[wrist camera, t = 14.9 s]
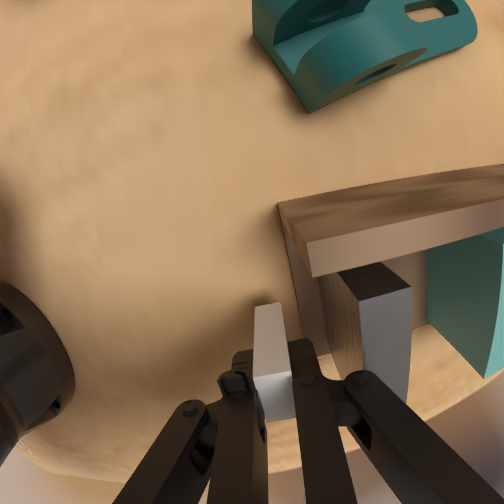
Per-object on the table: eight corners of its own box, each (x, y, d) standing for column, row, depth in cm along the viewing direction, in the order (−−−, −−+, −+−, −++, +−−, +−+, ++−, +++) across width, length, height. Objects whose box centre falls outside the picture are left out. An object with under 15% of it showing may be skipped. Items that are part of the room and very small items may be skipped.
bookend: (327, 344, 20) (363, 441, 11) (311, 240, 18) (358, 301, 9) (354, 337, 20) (402, 428, 11) (342, 233, 18) (411, 286, 9)
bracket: (308, 114, 17) (342, 78, 10) (252, 35, 16) (251, -33, 8) (474, 44, 15) (531, 20, 7) (430, -18, 13) (474, -56, 6)
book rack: (306, 350, 21) (336, 470, 11) (277, 202, 19) (306, 242, 8) (528, 273, 20) (602, 315, 9) (527, 161, 17) (617, 172, 6)
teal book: (426, 319, 20) (483, 378, 12) (423, 216, 18) (503, 244, 10) (464, 305, 19) (525, 353, 12) (465, 206, 17) (544, 228, 10)
